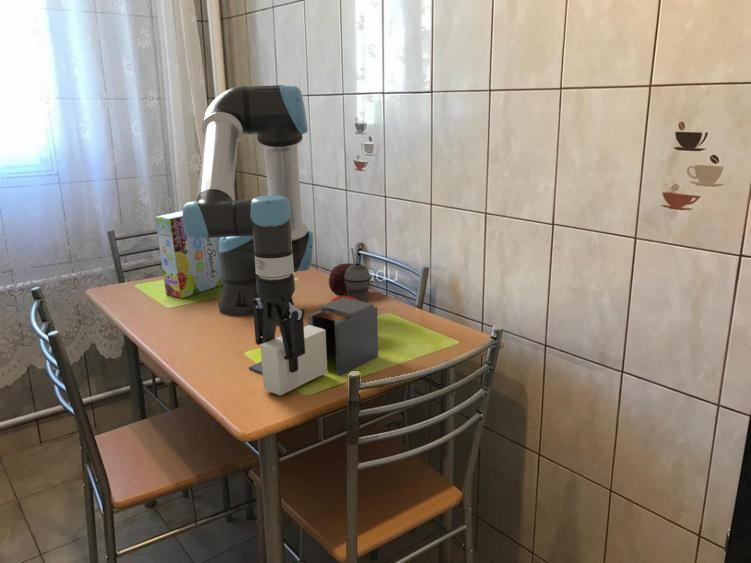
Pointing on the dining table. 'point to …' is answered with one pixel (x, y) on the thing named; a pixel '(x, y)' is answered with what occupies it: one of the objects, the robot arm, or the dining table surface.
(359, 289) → the beverage cup
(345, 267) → the potato
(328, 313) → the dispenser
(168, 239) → the snack box
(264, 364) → the white rectangular block
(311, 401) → the dining table surface
